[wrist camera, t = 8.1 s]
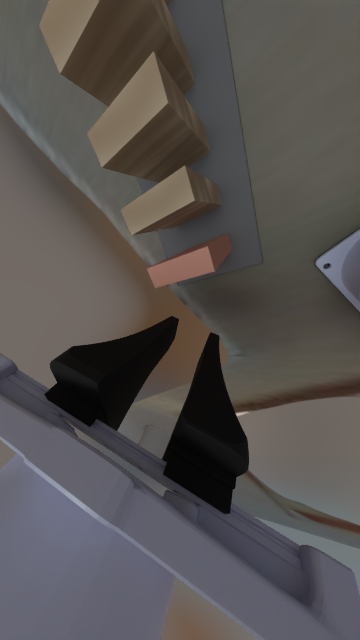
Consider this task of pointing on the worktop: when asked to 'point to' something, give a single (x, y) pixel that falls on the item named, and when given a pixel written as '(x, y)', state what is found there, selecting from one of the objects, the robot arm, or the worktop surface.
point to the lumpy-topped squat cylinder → (155, 440)
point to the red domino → (191, 262)
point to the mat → (214, 141)
